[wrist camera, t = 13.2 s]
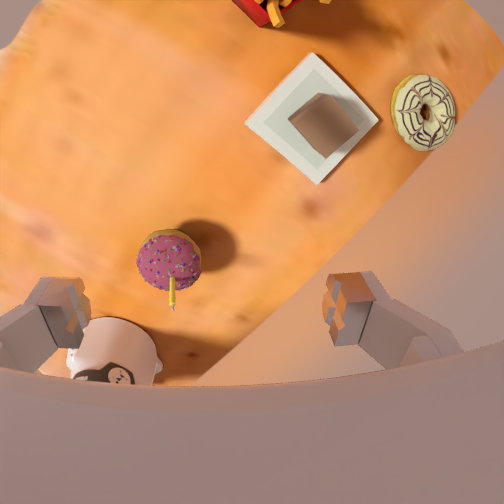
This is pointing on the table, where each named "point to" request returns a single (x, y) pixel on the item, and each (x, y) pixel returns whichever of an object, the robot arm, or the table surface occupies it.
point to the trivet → (295, 96)
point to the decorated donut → (410, 120)
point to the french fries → (267, 10)
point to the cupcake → (169, 261)
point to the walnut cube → (323, 124)
